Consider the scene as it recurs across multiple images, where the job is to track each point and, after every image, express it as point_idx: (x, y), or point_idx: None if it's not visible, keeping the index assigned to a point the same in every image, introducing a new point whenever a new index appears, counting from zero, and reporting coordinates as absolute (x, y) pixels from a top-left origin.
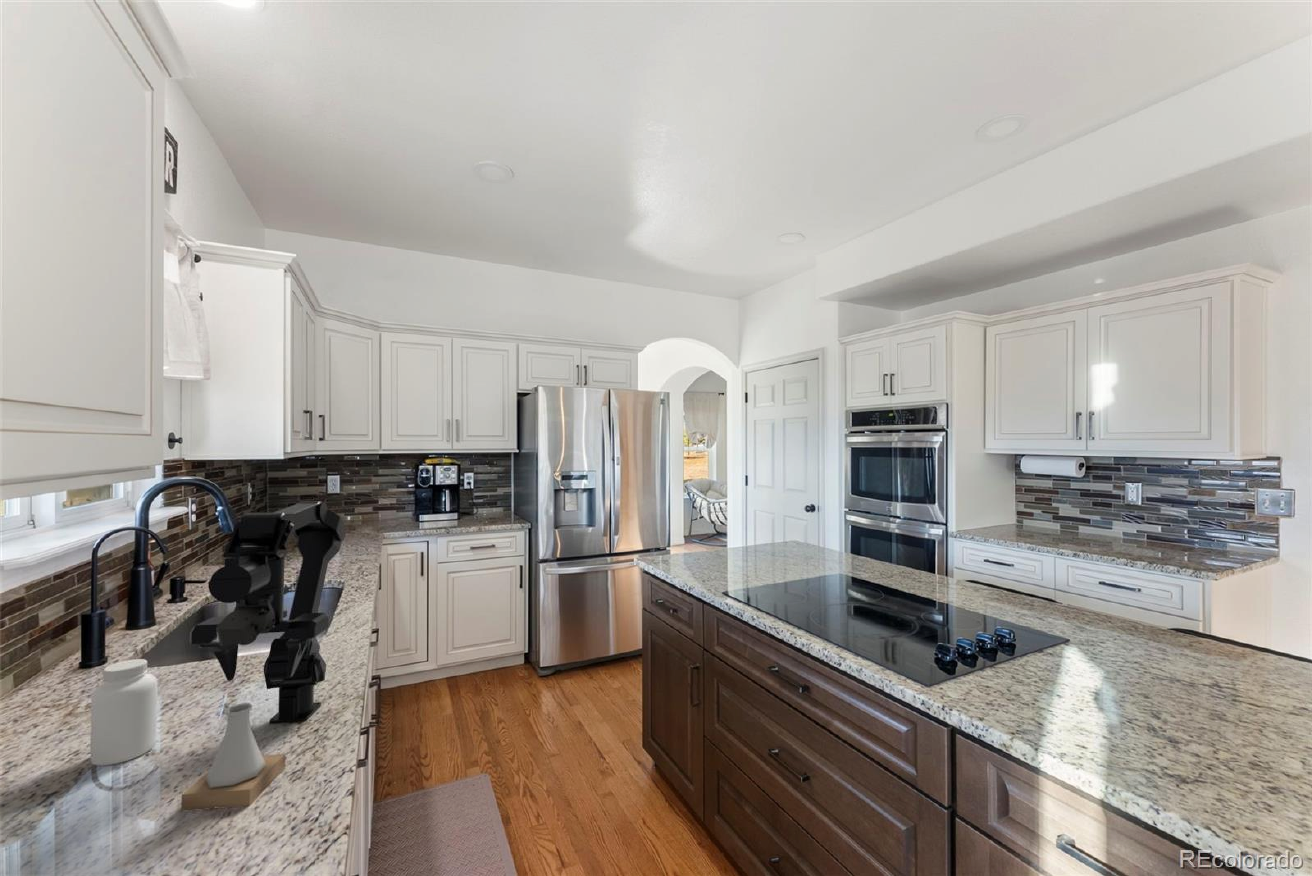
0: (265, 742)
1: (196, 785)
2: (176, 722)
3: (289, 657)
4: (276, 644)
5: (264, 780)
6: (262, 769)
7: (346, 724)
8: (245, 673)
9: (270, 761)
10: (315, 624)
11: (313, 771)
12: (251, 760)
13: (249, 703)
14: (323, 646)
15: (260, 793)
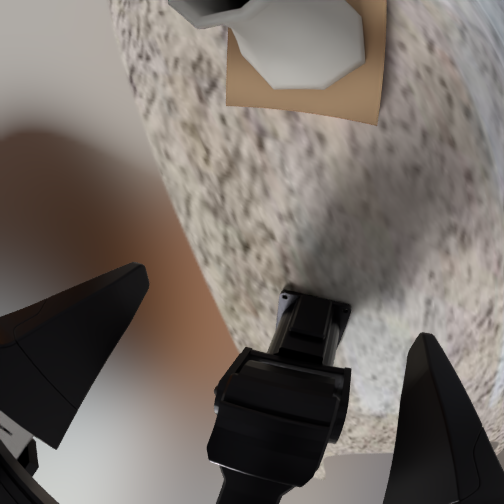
0: (334, 231)
1: (375, 10)
2: (486, 351)
3: (48, 313)
4: (298, 470)
5: None
6: None
7: (199, 249)
8: None
9: (243, 75)
10: None
11: (178, 85)
12: (238, 7)
13: (191, 20)
14: (330, 448)
15: None
